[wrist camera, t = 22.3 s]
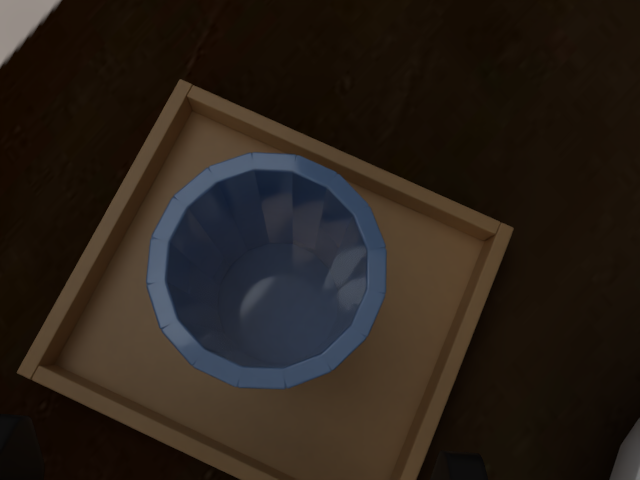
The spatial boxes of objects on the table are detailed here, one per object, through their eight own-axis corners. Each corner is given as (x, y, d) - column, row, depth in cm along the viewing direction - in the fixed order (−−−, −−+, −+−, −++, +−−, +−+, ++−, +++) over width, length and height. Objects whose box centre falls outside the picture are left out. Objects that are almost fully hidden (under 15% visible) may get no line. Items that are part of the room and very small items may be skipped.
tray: (39, 371, 23) (15, 372, 21) (188, 99, 26) (179, 78, 24) (380, 533, 22) (389, 551, 20) (497, 237, 25) (514, 227, 23)
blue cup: (183, 337, 23) (102, 325, 13) (246, 213, 24) (214, 115, 14) (313, 398, 23) (327, 431, 13) (370, 269, 24) (422, 209, 14)
